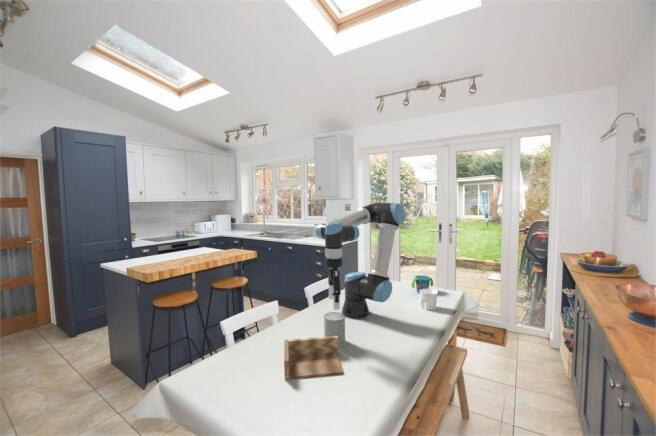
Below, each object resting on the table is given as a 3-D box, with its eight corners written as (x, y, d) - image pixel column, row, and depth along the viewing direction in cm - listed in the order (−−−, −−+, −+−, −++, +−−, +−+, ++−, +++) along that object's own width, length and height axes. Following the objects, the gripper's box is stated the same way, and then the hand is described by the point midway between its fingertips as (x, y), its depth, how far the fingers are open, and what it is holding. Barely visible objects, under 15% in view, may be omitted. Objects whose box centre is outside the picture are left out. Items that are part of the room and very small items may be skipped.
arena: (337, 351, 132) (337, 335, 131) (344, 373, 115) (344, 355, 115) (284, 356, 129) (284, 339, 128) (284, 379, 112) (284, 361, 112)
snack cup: (428, 288, 218) (428, 274, 217) (437, 293, 207) (437, 278, 207) (408, 290, 214) (408, 275, 214) (415, 295, 204) (415, 280, 203)
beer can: (330, 349, 134) (330, 322, 133) (320, 340, 142) (320, 314, 141) (349, 344, 138) (349, 317, 137) (338, 335, 147) (338, 310, 146)
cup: (440, 308, 180) (441, 291, 179) (429, 312, 174) (430, 295, 173) (426, 303, 188) (426, 287, 187) (415, 307, 182) (415, 290, 182)
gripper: (322, 252, 149) (322, 295, 151) (329, 263, 124) (329, 314, 126) (337, 252, 150) (337, 294, 152) (347, 262, 125) (347, 313, 127)
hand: (334, 303), depth 139 cm, fingers open, 13 cm apart
